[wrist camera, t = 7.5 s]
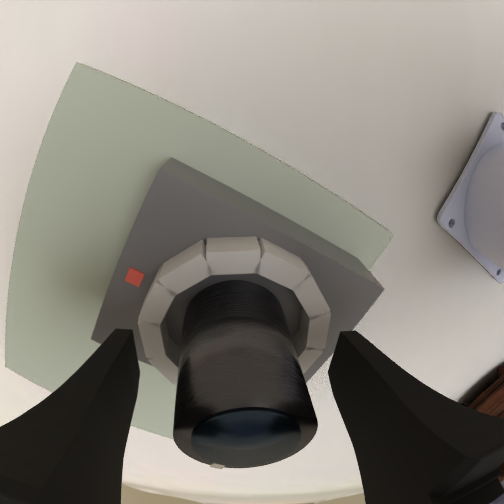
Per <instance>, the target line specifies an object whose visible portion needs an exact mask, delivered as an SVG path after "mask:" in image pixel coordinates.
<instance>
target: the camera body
mask: <svg viewBox="0 0 504 504" xmlns="http://www.w3.org/2000/svg"><path fill="white" fill-rule="evenodd" d="M228 280H243V281H249V282H253V283H256V284H258V285H261V286H263V287H264V288H266V289H268V290H269V291H270V292H271V293H273V294H274V295H275V297H276V298H277V299H278V300H279V302H280V304H281V306H282V309H283V312H284V315H285V318H286V322H287V325H288V328H289V331H290V334H291V337H292V341H293V344H294V347H295V350H296V353H297V356H298V360H299V363H300V366H301V369H302V372H303V376H304V379H305V382H307V381H308V380H309V379H310V378H311V377H312V376H313V375H314V374H315V373H316V372H317V370H318V369H319V368H320V367H321V366H322V365H323V364H324V363H325V361H326V360H327V359H328V358H329V357H330V356H331V355H332V353H333V352H334V351H335V347H336V344H337V340H338V337H339V334H340V331H352V330H353V329H354V327H355V326H356V325H357V324H358V322H359V321H360V320H361V319H362V317H363V316H364V315H365V314H366V312H367V311H368V310H369V308H370V307H371V306H372V305H373V303H374V302H375V301H376V299H377V298H378V297H379V295H380V294H381V293H382V292H383V290H384V288H383V287H382V286H381V284H380V283H379V282H378V281H377V280H376V278H375V277H374V276H373V275H372V274H371V273H370V271H369V270H368V269H367V268H366V267H365V266H364V265H363V263H362V262H361V261H360V260H359V259H358V258H356V257H355V256H353V255H351V254H350V253H348V252H346V251H344V250H343V249H341V248H339V247H338V246H336V245H334V244H332V243H331V242H329V241H327V240H325V239H324V238H322V237H320V236H318V235H317V234H315V233H313V232H311V231H310V230H308V229H306V228H304V227H302V226H301V225H299V224H297V223H295V222H294V221H292V220H290V219H288V218H286V217H285V216H283V215H281V214H279V213H277V212H275V211H274V210H272V209H270V208H268V207H266V206H264V205H263V204H261V203H259V202H257V201H255V200H253V199H251V198H250V197H248V196H246V195H244V194H242V193H240V192H238V191H236V190H235V189H233V188H231V187H229V186H227V185H225V184H223V183H221V182H219V181H217V180H215V179H214V178H212V177H210V176H208V175H206V174H204V173H202V172H200V171H198V170H196V169H194V168H192V167H190V166H188V165H186V164H184V163H182V162H180V161H178V160H176V159H174V158H172V157H171V158H170V159H169V160H168V161H167V162H166V163H165V164H164V165H163V166H162V167H161V168H160V169H159V170H158V172H157V174H156V176H155V178H154V180H153V182H152V185H151V187H150V189H149V191H148V193H147V195H146V197H145V200H144V202H143V204H142V206H141V208H140V211H139V213H138V215H137V217H136V220H135V222H134V224H133V226H132V229H131V231H130V233H129V236H128V238H127V241H126V243H125V245H124V248H123V250H122V253H121V255H120V258H119V260H118V263H117V265H116V268H115V271H114V273H113V276H112V279H111V281H110V284H109V287H108V289H107V292H106V295H105V298H104V301H103V303H102V306H101V309H100V312H99V315H98V318H97V321H96V324H95V327H94V330H93V333H92V336H91V340H93V341H95V342H97V343H100V344H102V343H103V342H104V341H105V340H106V338H107V337H108V336H109V335H110V334H111V333H112V332H113V331H114V330H115V329H116V328H118V329H132V330H133V334H134V340H135V346H136V352H137V357H138V360H139V361H141V362H144V363H146V364H149V365H151V366H154V367H155V368H156V369H157V370H158V371H159V372H160V373H161V374H162V375H163V376H165V377H166V378H167V379H168V380H169V381H170V382H171V383H172V384H173V385H174V386H176V385H177V377H178V367H179V357H180V348H181V339H182V330H183V322H184V314H185V311H186V308H187V306H188V304H189V303H190V301H191V300H192V298H193V297H194V296H195V295H196V294H197V293H199V292H200V291H201V290H203V289H204V288H206V287H208V286H210V285H212V284H215V283H218V282H222V281H228Z"/></svg>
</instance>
